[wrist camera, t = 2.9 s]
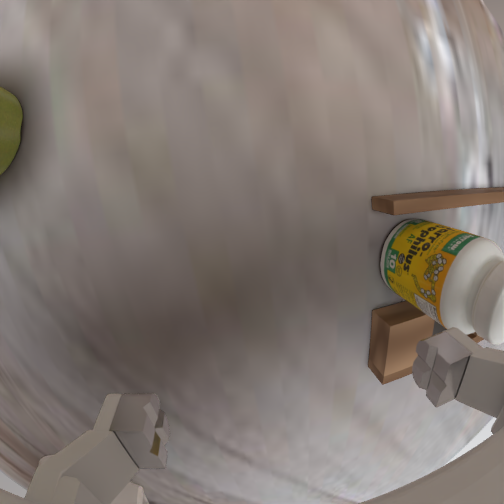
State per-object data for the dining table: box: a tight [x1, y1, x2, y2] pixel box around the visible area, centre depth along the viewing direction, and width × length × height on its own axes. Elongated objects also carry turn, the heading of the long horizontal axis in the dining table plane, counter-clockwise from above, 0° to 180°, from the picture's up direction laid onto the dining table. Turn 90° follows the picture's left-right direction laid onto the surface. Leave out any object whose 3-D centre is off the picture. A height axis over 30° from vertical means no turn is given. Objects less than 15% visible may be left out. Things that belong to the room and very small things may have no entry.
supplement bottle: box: [380, 219, 504, 345], centre depth 14 cm, size 5×5×10 cm
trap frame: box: [368, 187, 504, 385], centre depth 19 cm, size 13×22×2 cm, turn 97°
